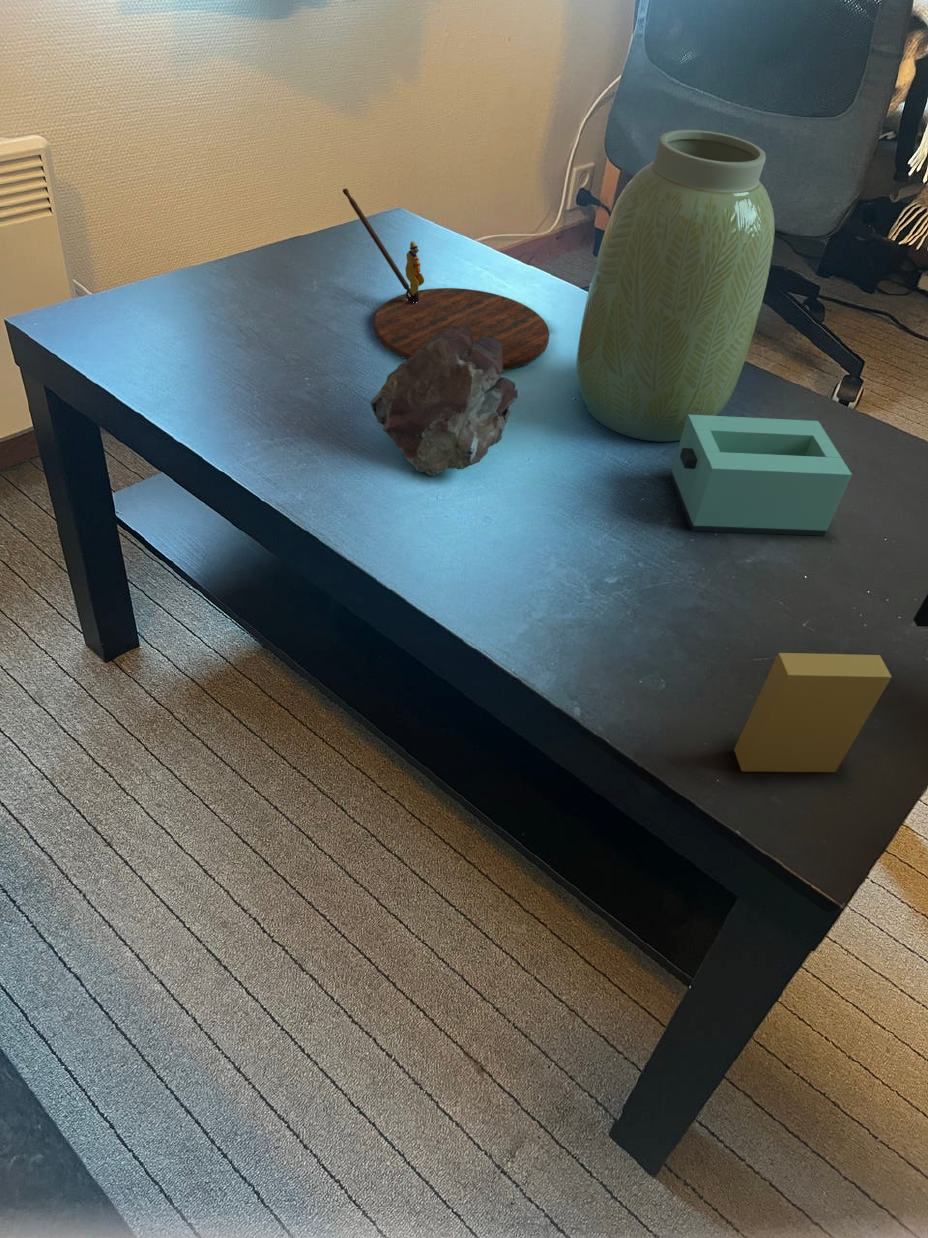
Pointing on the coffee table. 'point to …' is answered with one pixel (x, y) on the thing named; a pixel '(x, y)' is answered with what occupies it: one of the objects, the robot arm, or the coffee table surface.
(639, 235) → the vase
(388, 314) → the incense holder
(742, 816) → the coffee table surface
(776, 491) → the toaster
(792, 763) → the toast
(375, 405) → the mineral specimen
